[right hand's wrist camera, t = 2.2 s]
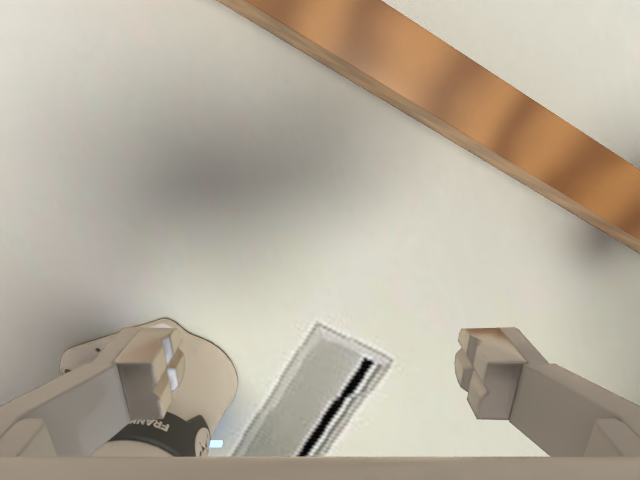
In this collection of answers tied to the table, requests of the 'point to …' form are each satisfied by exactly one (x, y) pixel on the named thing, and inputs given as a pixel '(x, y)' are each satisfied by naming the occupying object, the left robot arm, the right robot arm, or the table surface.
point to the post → (460, 103)
